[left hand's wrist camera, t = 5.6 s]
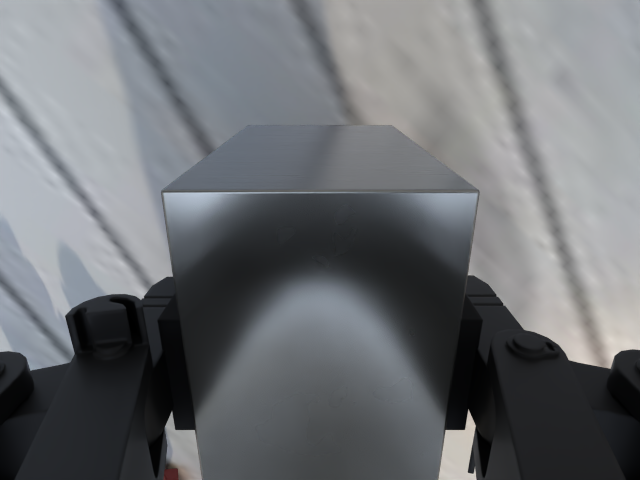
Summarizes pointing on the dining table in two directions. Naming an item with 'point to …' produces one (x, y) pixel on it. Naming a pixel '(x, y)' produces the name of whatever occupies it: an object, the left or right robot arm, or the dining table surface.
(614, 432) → the left robot arm
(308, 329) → the bar
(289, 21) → the dining table surface
